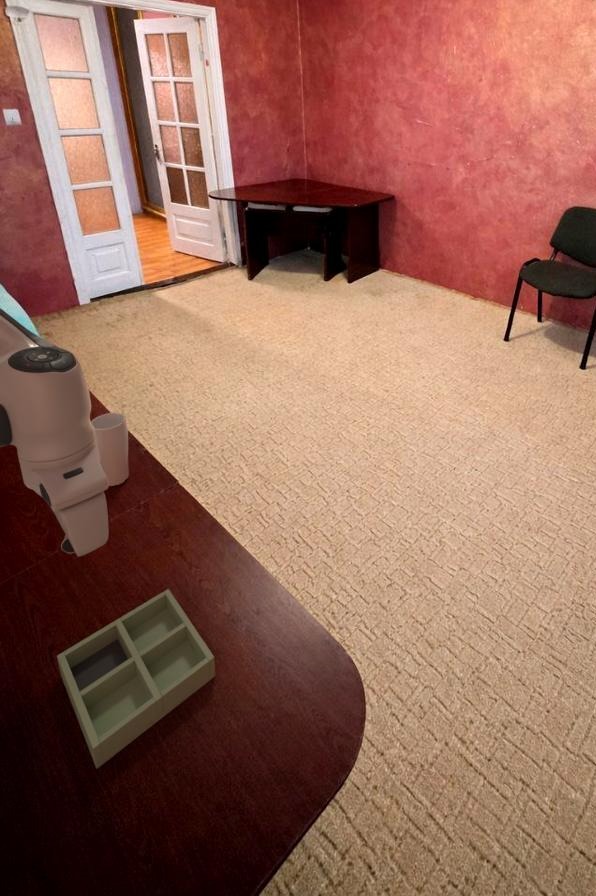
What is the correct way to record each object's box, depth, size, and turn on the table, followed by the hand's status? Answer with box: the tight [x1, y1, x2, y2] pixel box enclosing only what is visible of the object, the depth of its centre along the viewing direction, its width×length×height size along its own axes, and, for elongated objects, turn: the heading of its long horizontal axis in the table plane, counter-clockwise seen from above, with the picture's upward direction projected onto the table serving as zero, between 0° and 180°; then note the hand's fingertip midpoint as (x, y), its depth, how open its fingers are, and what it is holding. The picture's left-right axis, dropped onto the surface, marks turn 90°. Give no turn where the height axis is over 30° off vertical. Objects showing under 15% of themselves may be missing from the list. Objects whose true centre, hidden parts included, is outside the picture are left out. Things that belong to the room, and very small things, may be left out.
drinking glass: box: [90, 412, 130, 487], centre depth 105 cm, size 7×7×15 cm
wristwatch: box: [60, 534, 75, 555], centre depth 71 cm, size 3×5×5 cm, turn 26°
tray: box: [56, 588, 217, 769], centre depth 69 cm, size 15×15×4 cm
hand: (76, 538), depth 71 cm, fingers closed on wristwatch, 5 cm apart
